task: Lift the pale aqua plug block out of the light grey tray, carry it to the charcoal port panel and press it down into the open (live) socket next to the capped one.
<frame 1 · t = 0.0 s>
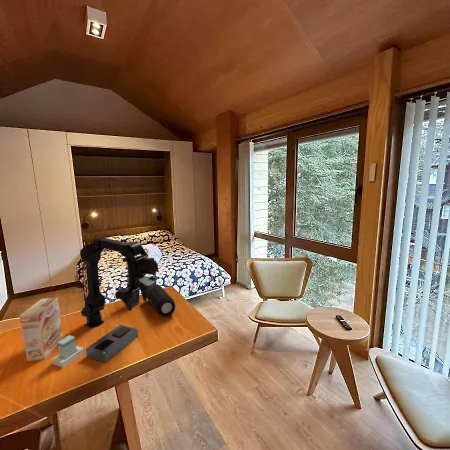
hand: (137, 305, 110), 15 cm above the table, fingers open, 9 cm apart
port panel: (114, 346, 105), on the table
plug: (68, 358, 98), resting on light grey tray
beverage cup: (135, 303, 143), on the table
portable speaker: (160, 308, 138), on the table
coffeecake box: (46, 349, 105), on the table
light grey tray: (69, 359, 98), on the table
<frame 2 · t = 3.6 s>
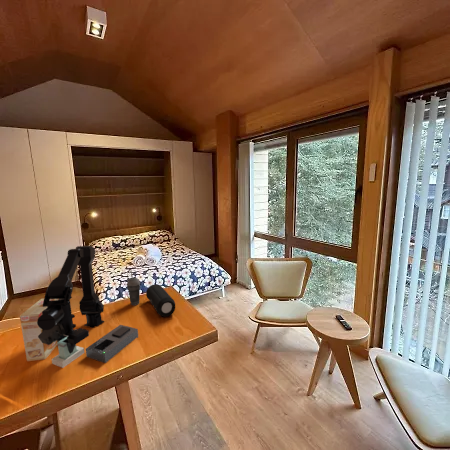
hand: (68, 351, 98), 3 cm above the table, fingers closed on plug, 3 cm apart
plug: (68, 358, 98), resting on light grey tray, touching gripper
everything else where it was.
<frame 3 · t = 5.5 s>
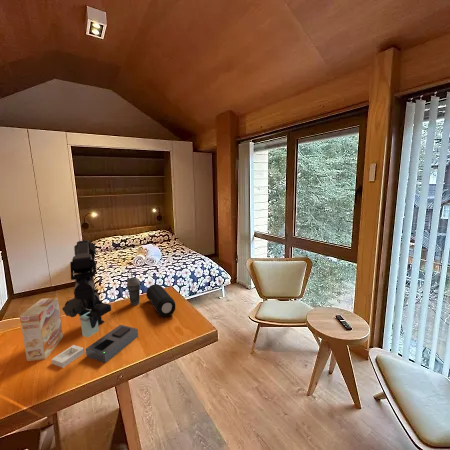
hand: (90, 326, 98), 13 cm above the table, fingers closed on plug, 3 cm apart
plug: (90, 333, 98), point 10 cm above the table, touching gripper
everything else where it was.
when the fingers open (5 cm above the table, at t = 7.8 s): plug drops 2 cm, resting on port panel.
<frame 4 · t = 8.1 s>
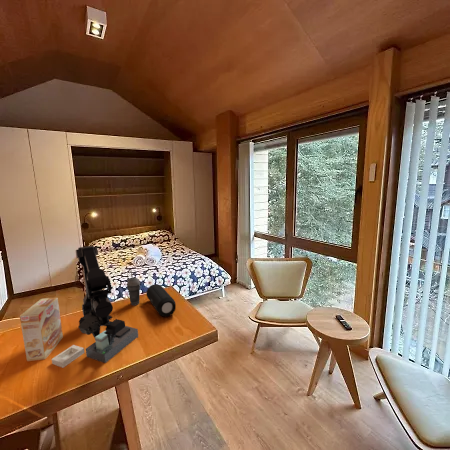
hand: (104, 342, 100), 5 cm above the table, fingers open, 7 cm apart
plug: (105, 352, 101), resting on port panel
everything else where it was.
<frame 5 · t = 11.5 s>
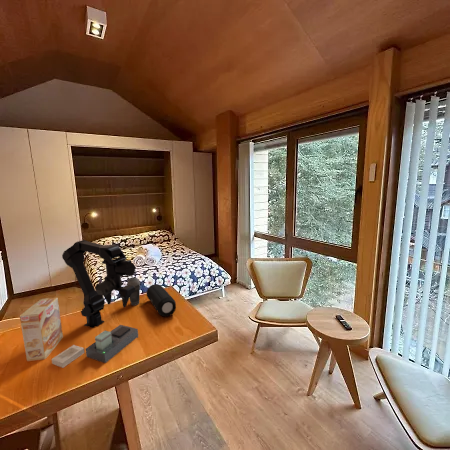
hand: (116, 305, 115), 13 cm above the table, fingers open, 9 cm apart
nothing on the table moved.
at the end: plug 0.0 cm from the target spot on the port panel, point 0.5 cm above the port panel's base; plug tilted 0°; the gripper is holding nothing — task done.
